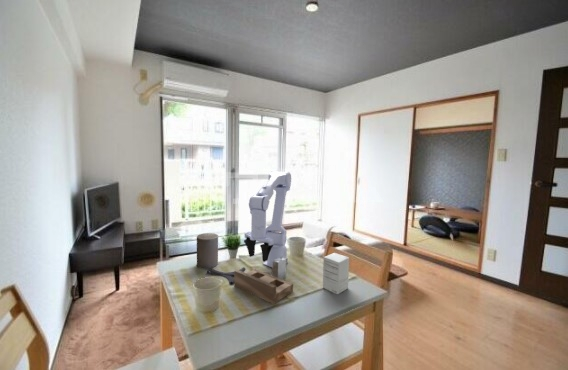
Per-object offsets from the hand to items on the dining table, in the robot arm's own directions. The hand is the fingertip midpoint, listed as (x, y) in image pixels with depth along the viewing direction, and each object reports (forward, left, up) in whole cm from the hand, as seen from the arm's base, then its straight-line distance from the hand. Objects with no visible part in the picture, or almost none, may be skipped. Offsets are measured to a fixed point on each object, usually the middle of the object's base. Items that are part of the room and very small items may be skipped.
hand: (258, 258), depth 107 cm
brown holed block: (+2, +6, -10) cm, 11 cm away
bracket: (+5, -15, -11) cm, 19 cm away
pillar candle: (+3, -29, -10) cm, 31 cm away
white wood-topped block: (-8, +5, -10) cm, 13 cm away
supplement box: (-16, +27, -10) cm, 33 cm away
